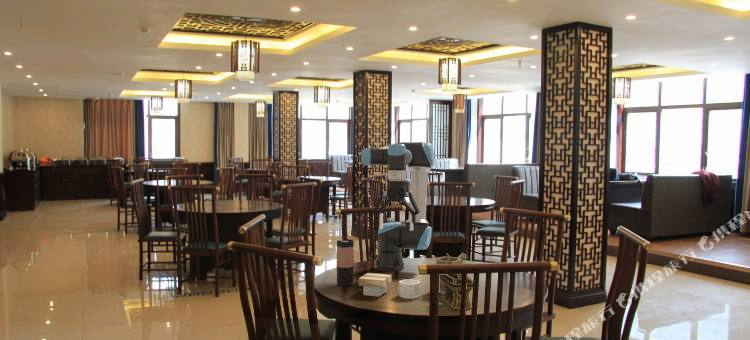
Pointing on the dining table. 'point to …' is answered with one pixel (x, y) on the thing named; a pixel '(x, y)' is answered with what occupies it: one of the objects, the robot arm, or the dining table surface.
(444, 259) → the tankard
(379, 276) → the lid
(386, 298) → the dining table surface
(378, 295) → the white rectangular block
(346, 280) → the travel mug
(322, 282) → the dining table surface
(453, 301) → the decorative box
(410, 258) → the dining table surface
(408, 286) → the bowl
